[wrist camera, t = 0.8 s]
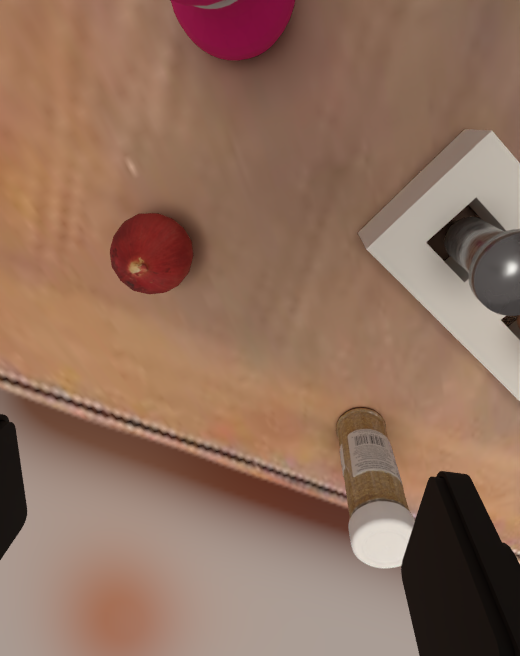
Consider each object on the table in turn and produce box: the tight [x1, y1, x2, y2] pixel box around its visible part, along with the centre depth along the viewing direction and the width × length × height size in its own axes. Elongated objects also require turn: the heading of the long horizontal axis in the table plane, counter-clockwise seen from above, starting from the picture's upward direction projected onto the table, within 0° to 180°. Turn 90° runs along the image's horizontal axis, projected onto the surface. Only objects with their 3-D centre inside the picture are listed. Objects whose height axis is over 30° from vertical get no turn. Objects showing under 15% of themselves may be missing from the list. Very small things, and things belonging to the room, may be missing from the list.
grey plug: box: [444, 217, 520, 316], centre depth 27 cm, size 4×4×8 cm
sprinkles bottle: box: [336, 408, 415, 568], centre depth 37 cm, size 5×5×13 cm
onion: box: [110, 213, 193, 294], centre depth 34 cm, size 6×6×8 cm
